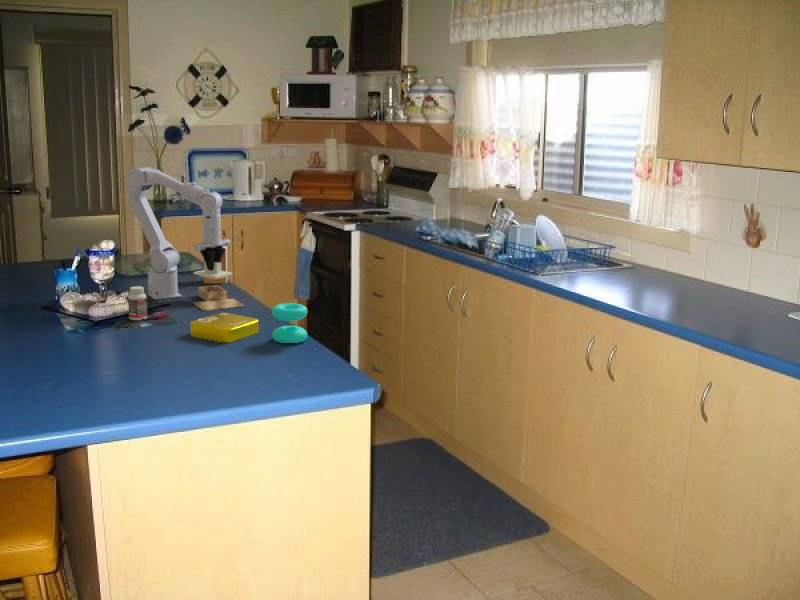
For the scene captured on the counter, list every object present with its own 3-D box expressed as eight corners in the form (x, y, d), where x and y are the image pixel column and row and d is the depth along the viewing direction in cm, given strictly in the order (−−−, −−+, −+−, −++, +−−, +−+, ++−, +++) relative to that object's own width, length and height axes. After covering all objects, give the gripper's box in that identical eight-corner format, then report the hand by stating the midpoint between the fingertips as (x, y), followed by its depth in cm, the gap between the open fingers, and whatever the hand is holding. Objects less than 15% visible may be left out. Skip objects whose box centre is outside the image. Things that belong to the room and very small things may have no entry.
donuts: (296, 312, 232) (265, 308, 236) (296, 347, 235) (265, 342, 238) (313, 304, 241) (283, 300, 245) (313, 338, 244) (283, 333, 247)
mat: (203, 311, 269) (203, 310, 269) (192, 303, 279) (192, 302, 278) (244, 306, 276) (244, 305, 276) (233, 299, 286) (233, 298, 285)
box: (207, 302, 281) (207, 293, 280) (198, 295, 289) (197, 287, 289) (227, 300, 285) (227, 291, 284) (217, 293, 293) (217, 285, 292)
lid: (216, 280, 277) (215, 265, 276) (193, 276, 283) (193, 261, 282) (232, 276, 283) (232, 262, 282) (210, 272, 289) (209, 258, 288)
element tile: (227, 345, 236) (227, 328, 235) (187, 336, 243) (187, 320, 242) (261, 333, 249) (261, 317, 247) (222, 325, 256) (222, 310, 255)
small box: (204, 284, 307) (203, 248, 304) (205, 280, 313) (204, 245, 310) (226, 284, 308) (225, 248, 305) (227, 280, 314) (227, 245, 311)
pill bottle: (140, 321, 256) (139, 290, 253) (125, 319, 257) (123, 288, 255) (150, 317, 261) (149, 286, 258) (135, 315, 262) (134, 284, 260)
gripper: (204, 233, 271) (205, 274, 274) (236, 227, 283) (237, 267, 286) (189, 230, 275) (190, 271, 278) (221, 225, 286) (222, 264, 290)
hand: (213, 269), depth 282 cm, fingers closed on lid
